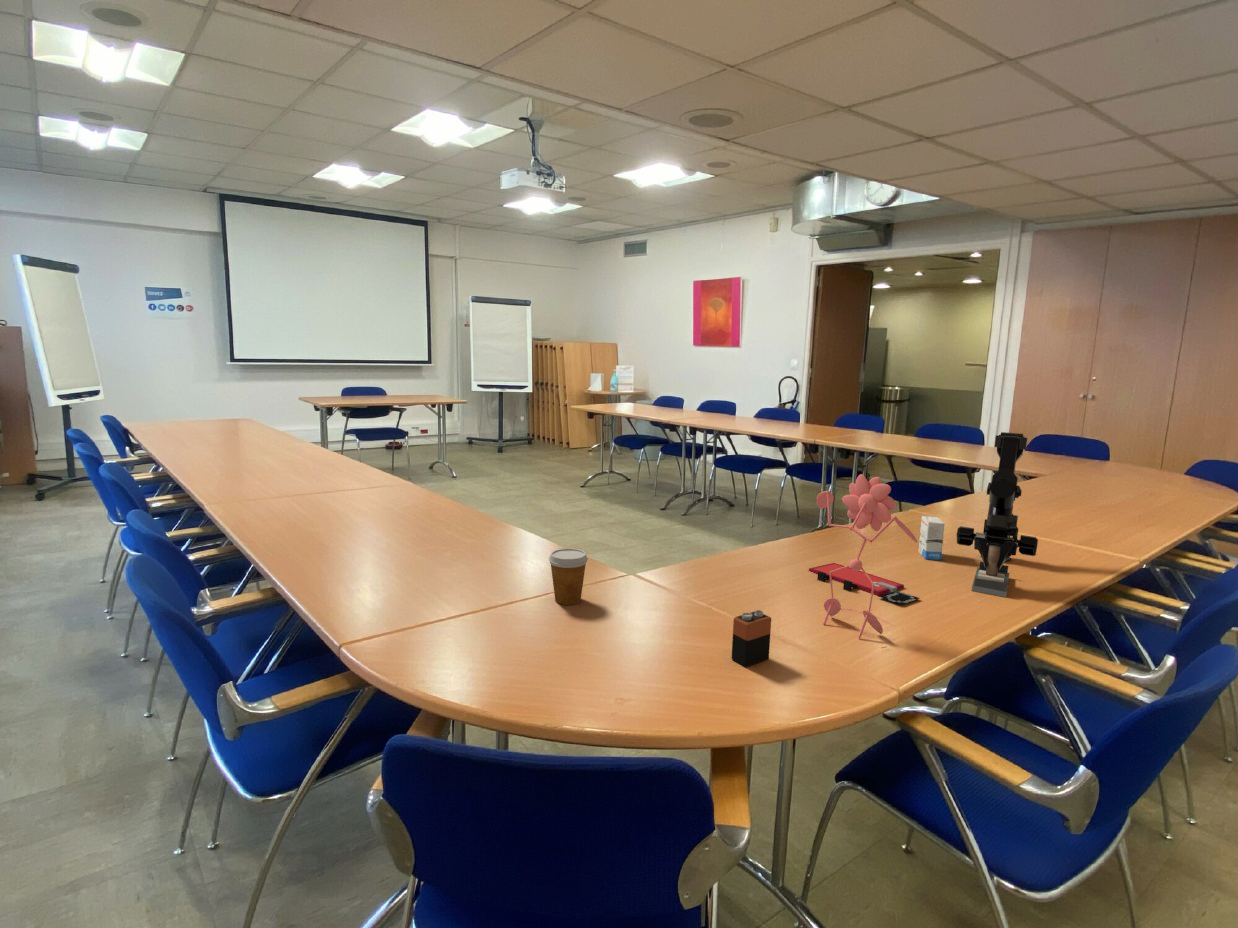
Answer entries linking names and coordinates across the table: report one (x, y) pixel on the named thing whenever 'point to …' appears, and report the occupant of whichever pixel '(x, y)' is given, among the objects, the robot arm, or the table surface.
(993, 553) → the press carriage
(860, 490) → the figurine
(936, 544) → the ink box
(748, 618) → the battery
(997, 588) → the rail
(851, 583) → the red board with handle
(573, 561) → the disposable coffee cup
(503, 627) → the table surface
